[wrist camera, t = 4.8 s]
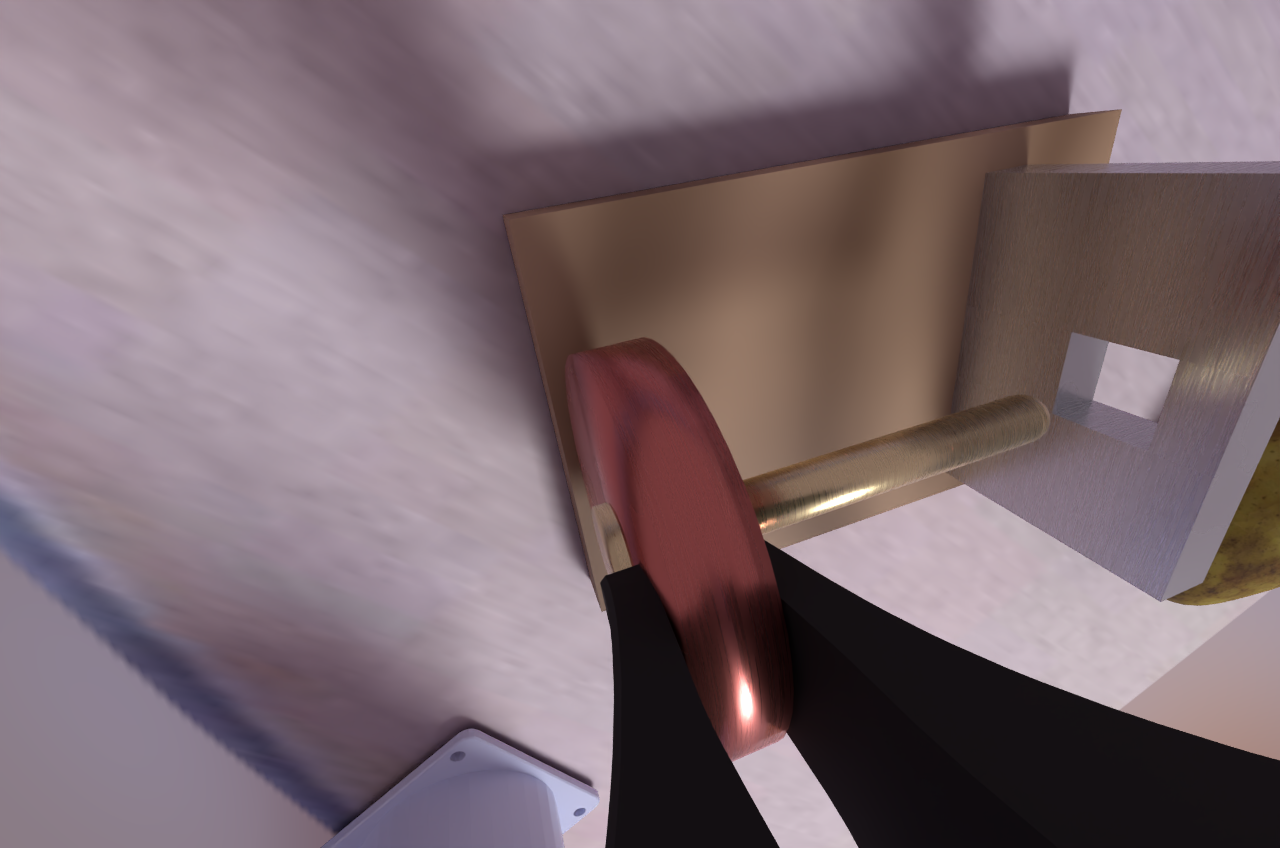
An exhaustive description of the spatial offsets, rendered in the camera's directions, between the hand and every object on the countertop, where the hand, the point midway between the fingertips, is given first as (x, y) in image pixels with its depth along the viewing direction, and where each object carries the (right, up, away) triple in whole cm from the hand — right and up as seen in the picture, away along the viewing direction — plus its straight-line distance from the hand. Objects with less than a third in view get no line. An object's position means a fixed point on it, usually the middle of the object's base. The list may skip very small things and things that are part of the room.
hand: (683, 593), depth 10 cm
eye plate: (+10, +6, +8) cm, 14 cm away
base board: (+5, +5, +8) cm, 11 cm away
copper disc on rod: (+2, +3, +6) cm, 7 cm away
